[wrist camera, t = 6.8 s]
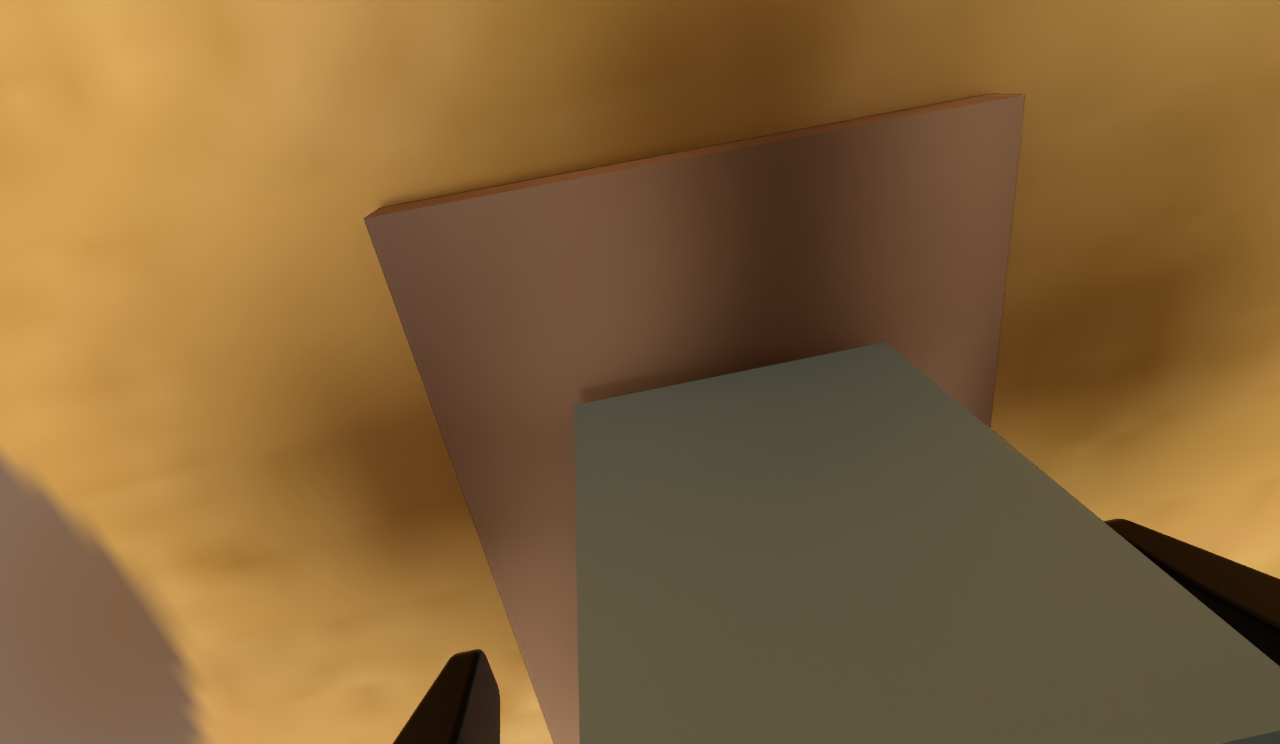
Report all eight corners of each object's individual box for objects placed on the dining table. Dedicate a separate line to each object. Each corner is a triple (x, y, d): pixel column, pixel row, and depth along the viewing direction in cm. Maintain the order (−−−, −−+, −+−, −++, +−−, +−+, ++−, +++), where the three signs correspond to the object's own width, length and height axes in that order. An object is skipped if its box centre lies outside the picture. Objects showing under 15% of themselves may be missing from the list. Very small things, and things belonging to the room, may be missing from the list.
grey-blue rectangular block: (885, 342, 10) (1340, 716, 4) (883, 575, 12) (1175, 1032, 6) (574, 405, 10) (581, 883, 4) (630, 629, 12) (689, 1144, 6)
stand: (992, 93, 10) (1859, 117, 3) (939, 721, 17) (1181, 1136, 10) (379, 208, 10) (-40, 485, 3) (584, 796, 17) (594, 1270, 10)
